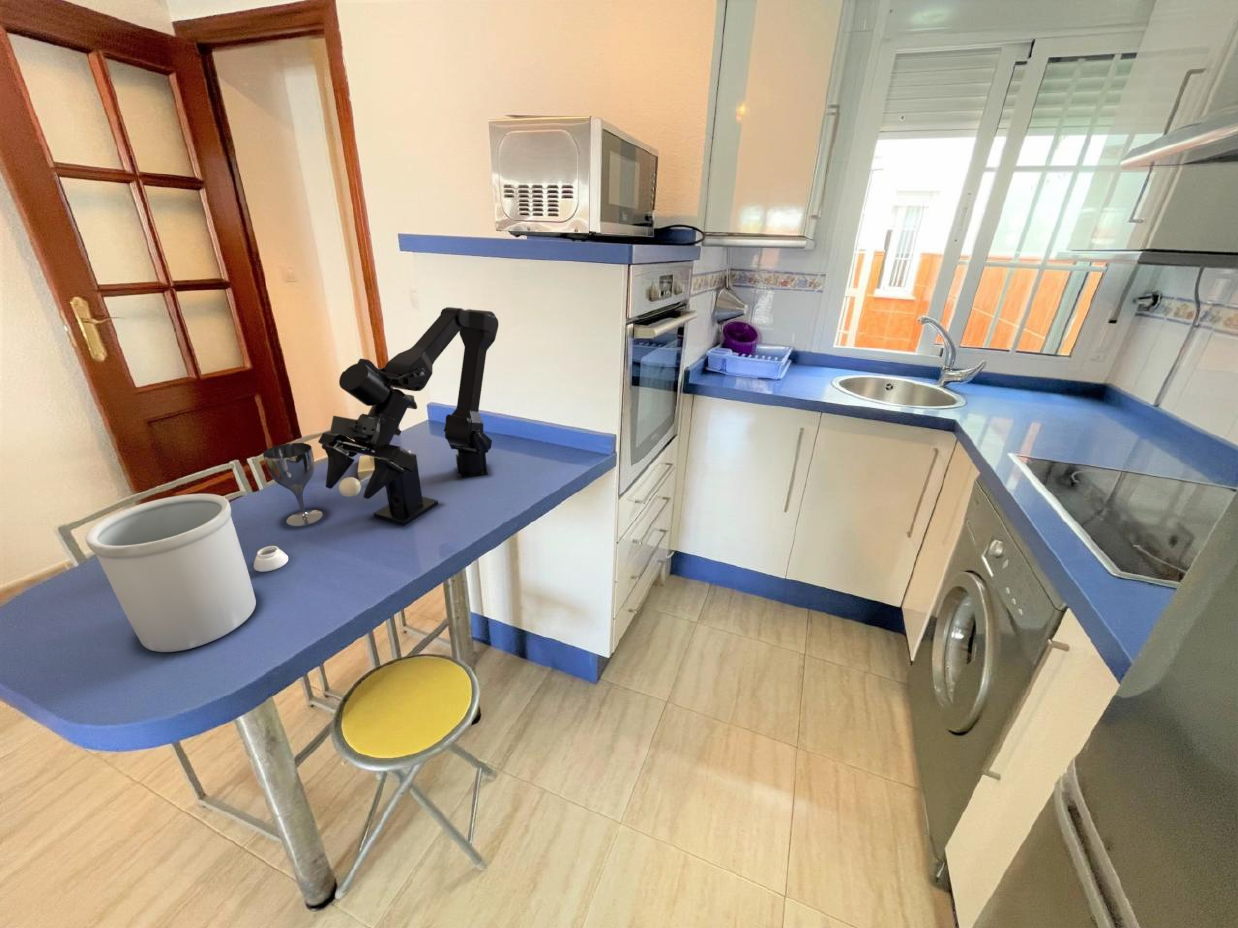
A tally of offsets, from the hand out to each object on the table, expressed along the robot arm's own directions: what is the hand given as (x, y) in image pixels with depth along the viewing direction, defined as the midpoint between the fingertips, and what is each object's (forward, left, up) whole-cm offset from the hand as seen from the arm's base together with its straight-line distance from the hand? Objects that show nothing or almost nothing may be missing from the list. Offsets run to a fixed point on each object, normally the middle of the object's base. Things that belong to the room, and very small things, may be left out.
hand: (346, 493), depth 91 cm
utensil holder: (+20, +15, -11) cm, 27 cm away
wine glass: (+10, -13, -11) cm, 20 cm away
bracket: (-9, -9, -10) cm, 16 cm away
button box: (-5, -35, -10) cm, 37 cm away
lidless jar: (+13, +3, -11) cm, 17 cm away
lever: (-5, -5, -1) cm, 7 cm away
